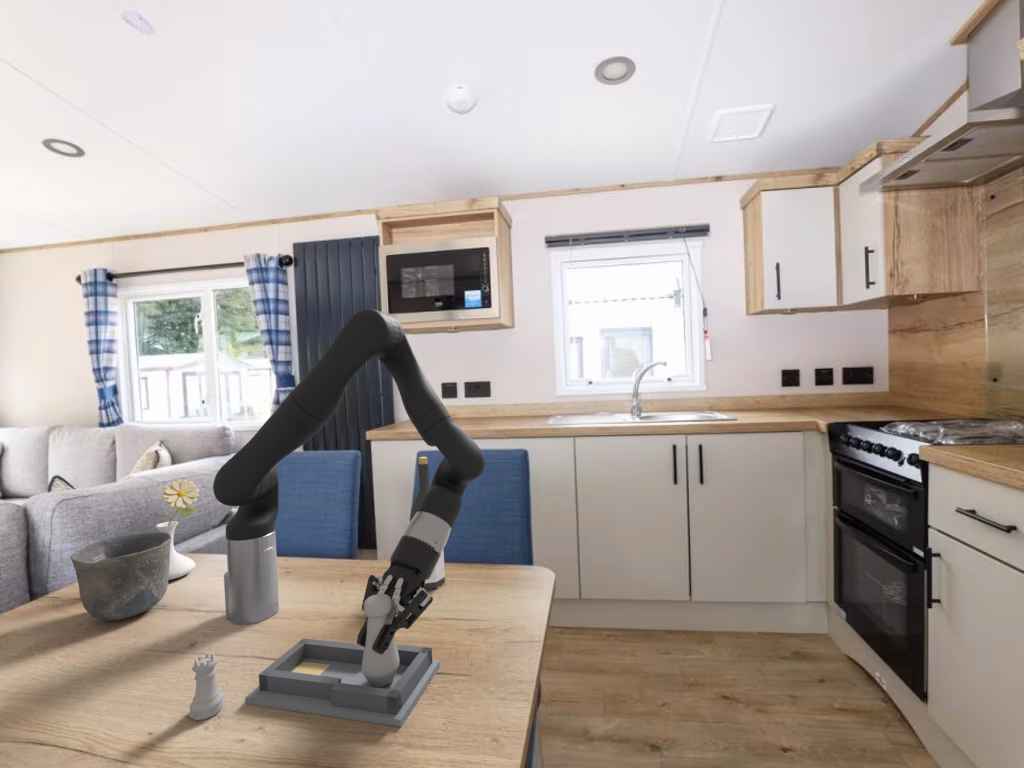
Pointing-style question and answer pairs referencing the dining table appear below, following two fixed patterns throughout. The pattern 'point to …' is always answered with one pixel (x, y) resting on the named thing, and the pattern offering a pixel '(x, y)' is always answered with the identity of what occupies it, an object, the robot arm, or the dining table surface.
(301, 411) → the robot arm
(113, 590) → the grey stone bowl
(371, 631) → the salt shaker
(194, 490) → the flower in vase
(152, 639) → the dining table surface
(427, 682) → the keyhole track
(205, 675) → the rook chess piece
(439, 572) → the wine bottle
